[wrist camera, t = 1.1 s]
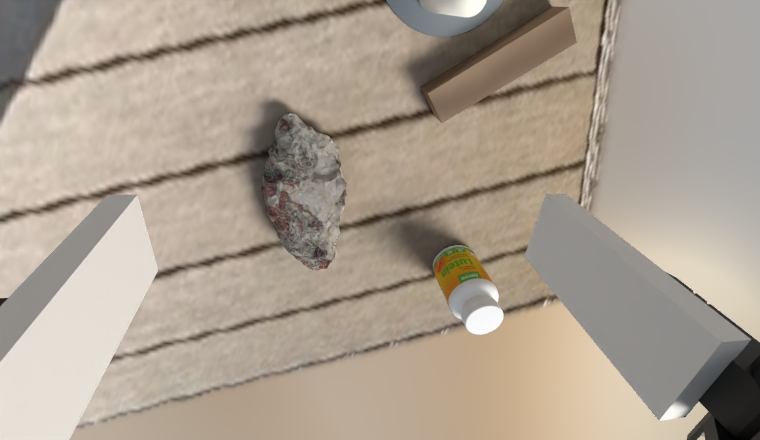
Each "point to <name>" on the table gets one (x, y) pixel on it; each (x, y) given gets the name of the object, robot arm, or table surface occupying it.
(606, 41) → the table surface
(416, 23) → the pin disc
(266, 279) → the table surface
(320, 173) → the mineral rock
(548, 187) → the table surface
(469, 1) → the pin
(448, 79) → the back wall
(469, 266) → the supplement bottle
